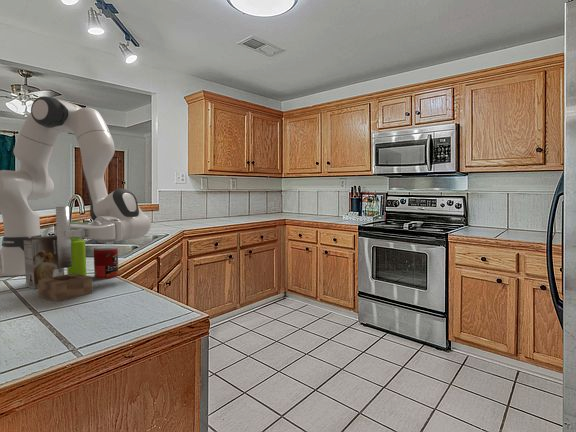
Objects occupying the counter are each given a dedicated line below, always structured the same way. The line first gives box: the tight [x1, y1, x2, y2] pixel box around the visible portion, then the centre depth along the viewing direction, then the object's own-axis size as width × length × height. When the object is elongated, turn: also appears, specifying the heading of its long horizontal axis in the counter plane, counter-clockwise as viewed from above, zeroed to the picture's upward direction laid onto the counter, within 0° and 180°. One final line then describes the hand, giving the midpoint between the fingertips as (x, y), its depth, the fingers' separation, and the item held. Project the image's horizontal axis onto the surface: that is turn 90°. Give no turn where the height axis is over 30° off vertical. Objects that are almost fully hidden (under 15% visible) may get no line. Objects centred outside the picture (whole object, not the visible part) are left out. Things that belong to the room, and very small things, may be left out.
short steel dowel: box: [52, 268, 65, 277], centre depth 113 cm, size 3×3×6 cm
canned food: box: [93, 245, 119, 280], centre depth 126 cm, size 8×8×11 cm
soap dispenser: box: [66, 221, 89, 276], centre depth 126 cm, size 6×7×20 cm
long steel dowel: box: [55, 206, 72, 269], centre depth 102 cm, size 3×3×18 cm
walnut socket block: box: [38, 273, 93, 302], centre depth 103 cm, size 10×10×5 cm
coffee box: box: [23, 235, 58, 290], centre depth 114 cm, size 9×6×16 cm
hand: (60, 233), depth 102 cm, fingers closed on long steel dowel, 3 cm apart
